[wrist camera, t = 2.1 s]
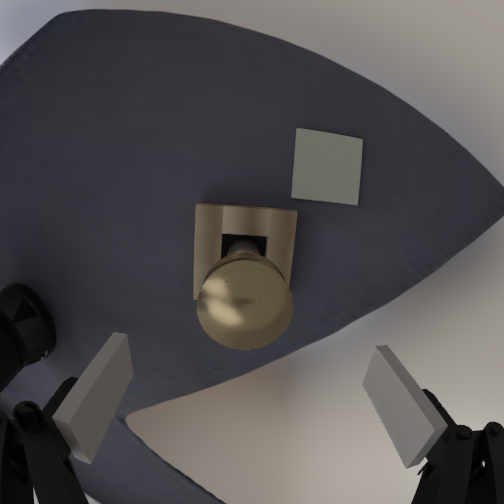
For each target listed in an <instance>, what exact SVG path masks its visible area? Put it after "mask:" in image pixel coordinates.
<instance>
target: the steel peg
mask: <svg viewBox="0 0 504 504" xmlns="http://www.w3.org/2000/svg"><path fill="white" fill-rule="evenodd" d="M197 314H198V318H199V321H200V323H201V325H202V327H203V329H204V330H205V331H206V333H207V334H208V335H209V336H210V337H211V338H212V339H214V340H215V341H216V342H218V343H220V344H222V345H224V346H226V347H229V348H233V349H238V350H251V349H257V348H261V347H264V346H266V345H268V344H270V343H272V342H273V341H275V340H276V339H277V338H279V337H280V336H281V335H282V334H283V333H284V331H285V330H286V329H287V327H288V325H289V323H290V321H291V318H292V314H293V299H292V295H291V292H290V290H289V287H288V285H287V283H286V280H285V278H284V276H283V274H282V272H281V271H280V269H279V268H278V267H277V266H276V265H275V264H274V263H273V262H272V261H270V260H269V259H267V258H265V257H263V256H261V255H260V253H259V249H258V246H257V244H256V243H255V242H254V241H253V240H252V239H250V238H247V237H240V238H237V239H235V240H233V241H232V242H231V244H230V245H229V248H228V252H227V256H226V257H224V258H222V259H221V260H219V261H218V262H216V263H215V264H214V265H213V266H212V267H211V269H210V270H209V271H208V273H207V275H206V276H205V279H204V282H203V284H202V287H201V290H200V293H199V295H198V300H197Z"/></svg>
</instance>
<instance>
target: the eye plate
mask: <svg viewBox="0 0 504 504" xmlns="http://www.w3.org/2000/svg"><path fill="white" fill-rule="evenodd" d="M296 222H297V211H295V210H292V209H280V208H268V207H255V206H241V205H226V204H208V203H198V204H196V217H195V243H194V299H195V300H198V295H199V293H200V290H201V287H202V284H203V282H204V279H205V276H206V275H207V273H208V271H209V270H210V269H211V267H212V266H213V265H214V264H215V263H216V262H218V261H219V260H221V259H222V243H223V234H239V235H254V236H266V242H265V253H264V257H265V258H267V259H269V260H270V261H272V262H273V263H274V264H275V265H276V266H277V267H278V268H279V269H280V271H281V272H282V274H283V276H284V278H285V280H286V283H287V285H288V287H289V284H290V276H291V267H292V259H293V250H294V241H295V232H296Z"/></svg>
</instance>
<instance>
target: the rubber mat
mask: <svg viewBox="0 0 504 504" xmlns="http://www.w3.org/2000/svg"><path fill="white" fill-rule="evenodd" d="M362 144H363V139H359V138H354V137H349V136H344V135H338V134H333V133H327V132H321V131H314V130H308V129H301V128H297V129H296V141H295V155H294V168H293V180H292V192H291V198H298V199H308V200H317V201H326V202H334V203H343V204H350V205H358V196H359V186H360V174H361V161H362Z"/></svg>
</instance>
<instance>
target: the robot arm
mask: <svg viewBox="0 0 504 504" xmlns="http://www.w3.org/2000/svg"><path fill="white" fill-rule="evenodd" d="M55 343H56V335H55V329H54V325H53V322H52V320H51V317H50V315H49V313H48V311H47V309H46V308H45V306H44V305H43V303H42V302H41V300H40V299H39V298H38V297H37V296H36V295H35V293H33V292H32V291H31V290H30V289H29V288H27V287H26V286H24V285H21V284H17V283H14V284H11V285H9V286H7V287H6V288H4V289H3V290H1V292H0V393H1V392H2V391H3V389H4V388H5V387H6V386H7V385H8V384H9V383H10V382H11V380H12V379H13V378H14V377H15V376H16V375H17V374H18V373H19V372H20V371H21V370H22V368H24V367H25V366H28V365H30V364H33V363H36V362H38V361H41V360H43V359H45V358H46V357H47V356H48V355H49V354H50V353H51V352H52V351H53V349H54V347H55ZM133 376H134V373H133V368H132V362H131V357H130V351H129V345H128V338H127V334H123V333H117V332H114V333H113V334H112V335H111V337H110V338H109V339H108V340H107V342H106V343H105V344H104V346H103V347H102V348H101V350H100V351H99V352H98V354H97V355H96V356H95V358H94V359H93V360H92V362H91V363H90V364H89V366H88V367H87V368H86V370H85V371H84V372H83V374H82V375H81V376H80V378H75V377H70V378H69V379H67V380H65V381H64V382H63V383H62V384H61V386H60V387H59V388H58V390H57V391H56V392H55V394H54V396H52V398H51V399H50V400H49V402H48V403H47V405H46V406H45V407H44V409H43V410H42V411H41V410H40V408H39V406H38V405H37V404H36V403H35V402H32V401H23V402H20V403H19V404H17V405H16V406H15V407H14V409H13V413H12V415H13V417H14V418H15V420H11V419H9V418H8V417H7V415H6V413H5V412H3V411H2V410H0V504H34V494H33V487H34V490H35V493H36V496H37V499H38V502H39V504H89V503H88V501H87V498H86V497H85V494H84V492H83V490H82V488H81V485H80V483H79V481H78V478H77V476H76V473H75V471H74V468H73V466H72V463H71V461H70V459H69V455H70V453H71V452H72V453H73V455H74V456H75V458H76V459H78V460H81V461H84V462H86V463H89V464H92V462H93V459H94V457H95V455H96V453H97V450H98V448H99V446H100V444H101V442H102V439H103V437H104V435H105V433H106V431H107V429H108V427H109V424H110V422H111V420H112V418H113V416H114V414H115V412H116V410H117V408H118V406H119V404H120V402H121V400H122V397H123V395H124V393H125V391H126V389H127V387H128V385H129V383H130V381H131V379H132V378H133ZM363 386H364V388H365V390H366V392H367V394H368V395H369V397H370V399H371V401H372V403H373V405H374V407H375V409H376V411H377V413H378V414H379V416H380V418H381V420H382V422H383V424H384V426H385V428H386V430H387V432H388V434H389V436H390V438H391V439H392V441H393V444H394V446H395V448H396V450H397V451H398V453H399V456H400V458H401V459H402V461H403V464H404V466H405V468H409V467H412V466H415V465H418V464H420V462H421V461H422V460H423V459H424V457H426V458H427V460H428V462H427V463H426V464H425V465H424V466H423V468H422V469H421V470H420V471H419V472H418V475H419V474H420V473H421V472H422V471H423V473H422V476H421V479H420V482H419V485H418V488H417V490H416V493H415V495H414V498H413V501H412V503H411V504H504V428H503V426H501V424H499V423H497V422H489V423H488V424H487V425H486V426H485V428H484V429H483V430H480V431H472V430H471V429H470V428H469V427H467V426H465V425H457V424H456V423H455V422H454V421H453V419H452V418H451V417H450V415H449V414H448V413H447V411H446V410H445V409H444V407H442V405H441V403H440V402H438V400H437V398H436V397H435V396H434V394H433V393H431V392H429V391H428V390H427V389H421V388H420V387H419V385H418V384H417V383H416V381H415V380H414V379H413V378H412V376H411V375H410V374H409V372H408V371H407V370H406V368H405V367H404V366H403V365H402V364H401V362H400V361H399V360H398V358H397V357H396V356H395V354H394V353H393V352H392V351H391V349H390V348H389V347H388V346H387V345H384V346H376V347H375V350H374V353H373V356H372V359H371V362H370V365H369V367H368V370H367V373H366V376H365V379H364V382H363ZM483 461H484V462H485V466H484V467H483V464H482V462H483Z"/></svg>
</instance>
